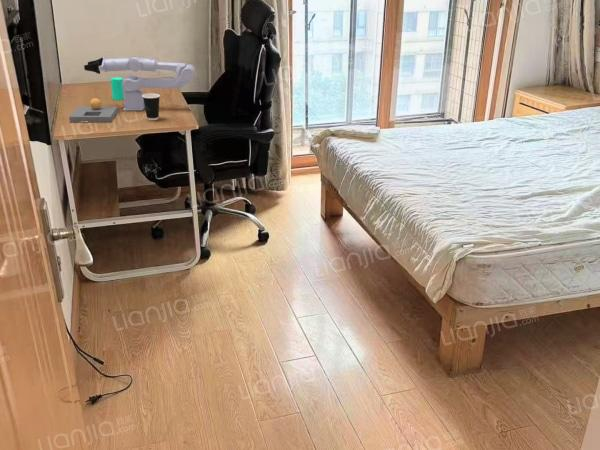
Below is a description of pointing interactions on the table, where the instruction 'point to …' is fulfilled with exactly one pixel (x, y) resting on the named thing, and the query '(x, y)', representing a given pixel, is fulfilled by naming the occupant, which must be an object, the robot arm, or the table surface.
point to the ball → (95, 103)
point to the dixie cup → (151, 105)
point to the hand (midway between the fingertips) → (86, 66)
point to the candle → (117, 88)
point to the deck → (94, 114)
